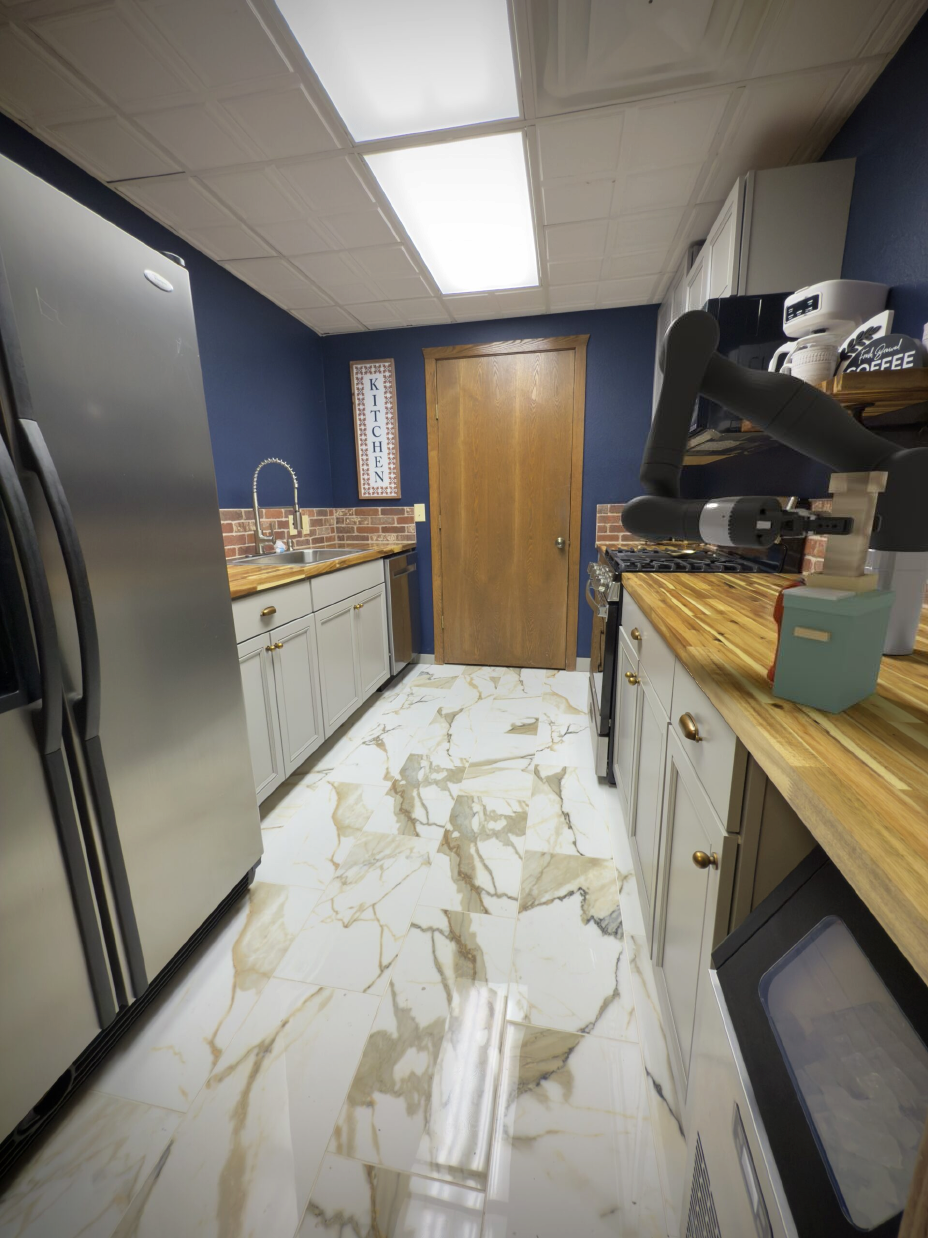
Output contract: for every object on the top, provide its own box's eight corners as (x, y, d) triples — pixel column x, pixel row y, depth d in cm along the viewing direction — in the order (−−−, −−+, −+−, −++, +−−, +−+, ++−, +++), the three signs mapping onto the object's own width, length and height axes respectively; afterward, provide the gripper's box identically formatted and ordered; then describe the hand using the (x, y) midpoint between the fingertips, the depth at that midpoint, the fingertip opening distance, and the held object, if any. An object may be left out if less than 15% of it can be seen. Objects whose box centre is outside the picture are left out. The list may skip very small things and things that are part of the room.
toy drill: (813, 649, 83) (821, 562, 78) (802, 696, 69) (811, 593, 65) (779, 646, 86) (785, 561, 81) (762, 690, 72) (768, 591, 68)
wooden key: (825, 585, 69) (843, 473, 65) (867, 589, 65) (888, 471, 61) (814, 587, 67) (831, 473, 63) (856, 592, 63) (876, 471, 60)
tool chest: (812, 675, 74) (828, 569, 70) (878, 691, 67) (901, 575, 63) (765, 695, 66) (781, 578, 63) (834, 716, 60) (857, 586, 56)
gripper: (715, 497, 71) (847, 494, 58) (766, 496, 79) (893, 494, 65) (710, 549, 73) (837, 558, 60) (760, 543, 80) (883, 550, 67)
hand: (866, 524), depth 63 cm, fingers open, 8 cm apart
